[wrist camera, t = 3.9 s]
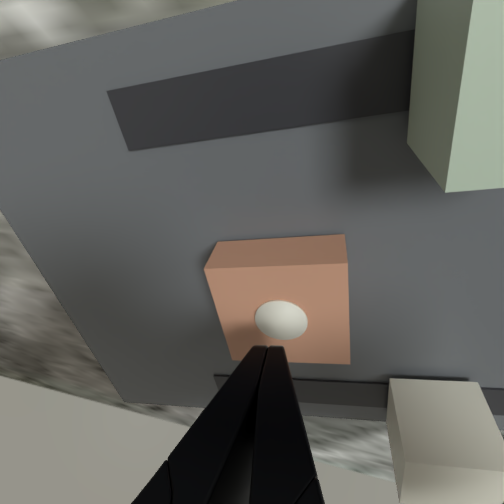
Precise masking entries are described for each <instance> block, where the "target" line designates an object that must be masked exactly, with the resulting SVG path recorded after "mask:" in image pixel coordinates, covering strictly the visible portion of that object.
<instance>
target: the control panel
mask: <svg viewBox="0 0 504 504" xmlns="http://www.w3.org/2000/svg"><path fill="white" fill-rule="evenodd" d="M416 13H417V0H237V1H233V2H229V3H225V4H221V5H217V6H213V7H209V8H205V9H202V10H198V11H194V12H190V13H186V14H182V15H178V16H174V17H170V18H166V19H162V20H158V21H154V22H150V23H146V24H142V25H138V26H134V27H130V28H126V29H122V30H118V31H114V32H110V33H106V34H102V35H98V36H94V37H90V38H86V39H82V40H78V41H74V42H70V43H66V44H62V45H58V46H54V47H50V48H46V49H43V50H39V51H35V52H31V53H27V54H23V55H19V56H15V57H11V58H7V59H3V60H0V210H1V212H2V213H3V215H4V216H5V218H6V219H7V221H8V222H9V224H10V226H11V227H12V229H13V230H14V232H15V233H16V235H17V236H18V238H19V240H20V241H21V243H22V244H23V246H24V247H25V249H26V250H27V252H28V254H29V255H30V257H31V258H32V260H33V261H34V263H35V264H36V266H37V267H38V269H39V271H40V272H41V274H42V275H43V277H44V278H45V280H46V281H47V283H48V285H49V286H50V288H51V289H52V291H53V292H54V294H55V295H56V297H57V299H58V300H59V302H60V303H61V305H62V306H63V308H64V309H65V311H66V313H67V314H68V316H69V317H70V319H71V320H72V322H73V323H74V325H75V326H76V328H77V330H78V331H79V333H80V334H81V336H82V337H83V339H84V340H85V342H86V344H87V345H88V347H89V348H90V350H91V351H92V353H93V354H94V356H95V358H96V359H97V361H98V362H99V364H100V365H101V367H102V368H103V370H104V371H105V373H106V375H107V376H108V378H109V379H110V381H111V382H112V384H113V385H114V387H115V389H116V390H117V392H118V393H119V395H120V396H121V398H122V399H123V401H124V402H132V403H145V404H159V405H172V406H185V407H199V408H206V406H207V405H208V404H209V403H210V401H211V400H212V399H213V397H214V396H215V395H216V393H217V392H218V391H219V389H220V388H221V387H222V385H223V384H224V383H225V381H226V380H227V379H228V378H229V376H230V375H231V374H232V372H233V371H234V370H235V368H236V367H237V366H238V364H239V363H240V362H241V361H239V360H232V358H231V354H230V351H229V348H228V345H227V342H226V338H225V335H224V332H223V329H222V326H221V322H220V319H219V316H218V313H217V310H216V307H215V303H214V300H213V297H212V294H211V291H210V287H209V284H208V281H207V278H206V275H205V271H204V267H205V265H206V263H207V261H208V259H209V258H210V256H211V254H212V252H213V250H214V248H215V246H216V244H217V242H222V241H238V240H255V239H271V238H288V237H304V236H321V235H338V234H345V241H346V250H347V260H348V288H349V328H350V364H324V363H296V362H288V364H289V368H290V372H291V376H292V379H293V383H294V387H295V391H296V395H297V399H298V403H299V407H300V410H301V414H302V415H305V416H319V417H332V418H346V419H359V420H372V421H386V418H387V405H388V391H389V378H395V379H418V380H441V381H464V382H478V384H479V386H480V388H481V390H482V393H483V395H484V397H485V399H486V402H487V404H488V406H489V408H490V410H491V413H492V415H493V417H494V419H495V422H496V424H497V426H498V428H499V430H504V188H495V189H483V190H471V191H459V192H448V193H445V192H444V191H443V189H442V188H441V187H440V186H439V184H438V183H437V182H436V180H435V179H434V178H433V176H432V175H431V174H430V173H429V171H428V170H427V169H426V167H425V166H424V165H423V163H422V162H421V161H420V160H419V158H418V157H417V156H416V154H415V153H414V152H413V150H412V149H411V148H410V147H409V145H408V144H407V135H408V121H409V108H410V94H411V81H412V67H413V54H414V40H415V27H416Z"/></svg>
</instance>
